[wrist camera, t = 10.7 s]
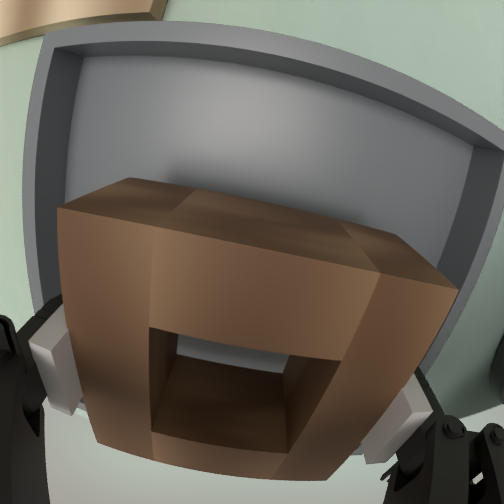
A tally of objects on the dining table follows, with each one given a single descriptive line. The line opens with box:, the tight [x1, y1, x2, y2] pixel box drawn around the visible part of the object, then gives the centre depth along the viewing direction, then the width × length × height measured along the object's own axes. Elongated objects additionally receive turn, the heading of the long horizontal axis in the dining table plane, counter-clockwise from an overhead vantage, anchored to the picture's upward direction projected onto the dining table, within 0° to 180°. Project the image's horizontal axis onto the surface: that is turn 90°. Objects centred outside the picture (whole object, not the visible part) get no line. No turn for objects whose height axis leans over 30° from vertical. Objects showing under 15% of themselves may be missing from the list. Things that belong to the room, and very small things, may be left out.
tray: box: [22, 21, 504, 455], centre depth 13 cm, size 20×20×3 cm
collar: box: [57, 177, 459, 481], centre depth 9 cm, size 9×9×4 cm
